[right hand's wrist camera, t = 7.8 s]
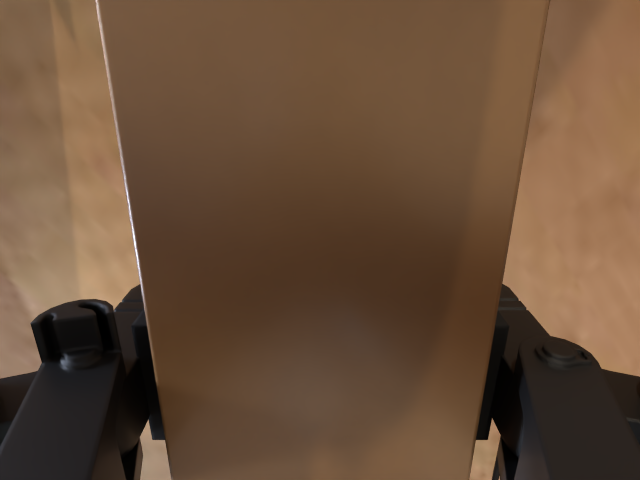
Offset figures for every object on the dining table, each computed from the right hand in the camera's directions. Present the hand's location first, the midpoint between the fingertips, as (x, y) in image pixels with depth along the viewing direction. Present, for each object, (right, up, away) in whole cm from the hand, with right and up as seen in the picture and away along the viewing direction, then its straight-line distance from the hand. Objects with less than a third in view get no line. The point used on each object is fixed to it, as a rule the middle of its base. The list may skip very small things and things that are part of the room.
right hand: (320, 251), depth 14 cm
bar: (0, -26, +10) cm, 28 cm away
